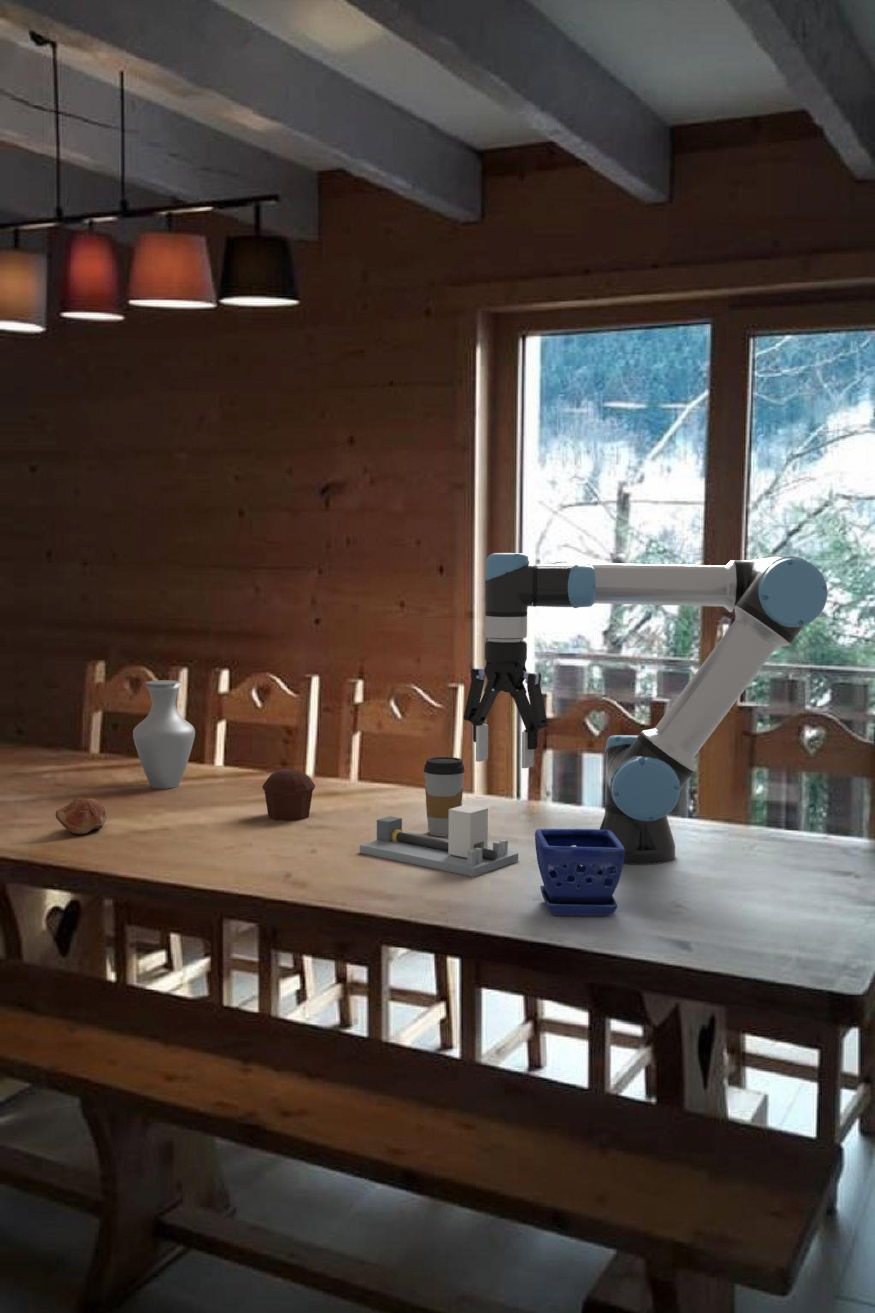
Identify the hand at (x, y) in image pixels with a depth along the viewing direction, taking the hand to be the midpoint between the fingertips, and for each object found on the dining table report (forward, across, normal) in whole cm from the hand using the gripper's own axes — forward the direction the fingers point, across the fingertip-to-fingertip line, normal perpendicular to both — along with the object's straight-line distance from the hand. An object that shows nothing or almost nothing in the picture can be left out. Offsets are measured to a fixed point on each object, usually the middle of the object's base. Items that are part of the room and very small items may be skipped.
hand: (504, 763), depth 235 cm
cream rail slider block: (+18, +8, 0) cm, 19 cm away
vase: (+20, +106, -11) cm, 108 cm away
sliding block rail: (+20, +15, 0) cm, 25 cm away
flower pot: (+20, -23, +12) cm, 33 cm away
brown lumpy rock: (+20, +83, +30) cm, 90 cm away
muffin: (+20, +61, -7) cm, 64 cm away
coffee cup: (+20, +26, -16) cm, 36 cm away
